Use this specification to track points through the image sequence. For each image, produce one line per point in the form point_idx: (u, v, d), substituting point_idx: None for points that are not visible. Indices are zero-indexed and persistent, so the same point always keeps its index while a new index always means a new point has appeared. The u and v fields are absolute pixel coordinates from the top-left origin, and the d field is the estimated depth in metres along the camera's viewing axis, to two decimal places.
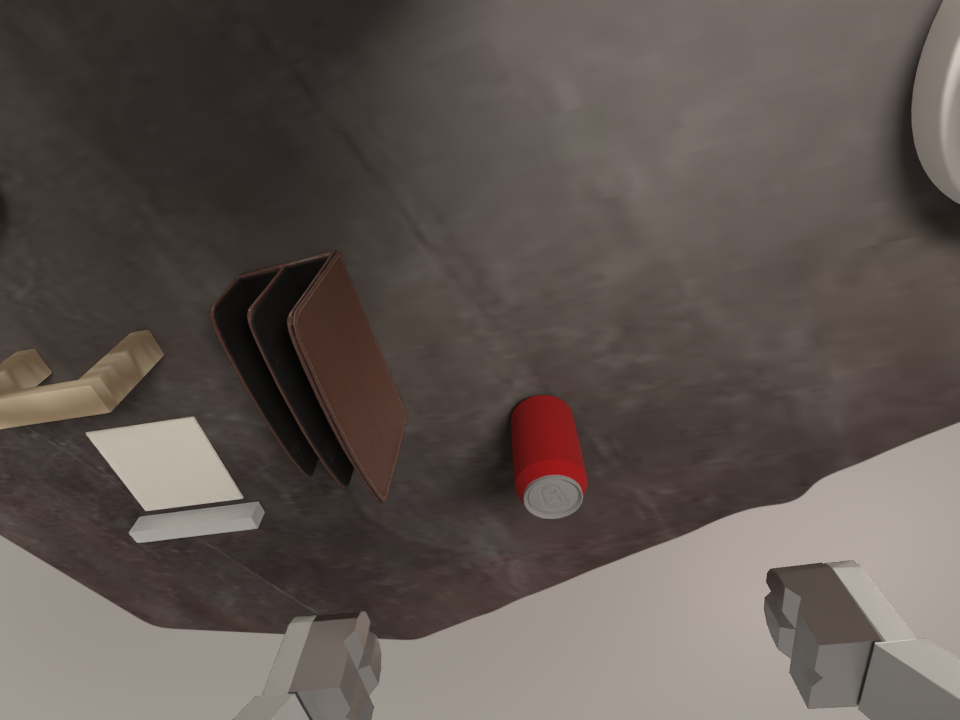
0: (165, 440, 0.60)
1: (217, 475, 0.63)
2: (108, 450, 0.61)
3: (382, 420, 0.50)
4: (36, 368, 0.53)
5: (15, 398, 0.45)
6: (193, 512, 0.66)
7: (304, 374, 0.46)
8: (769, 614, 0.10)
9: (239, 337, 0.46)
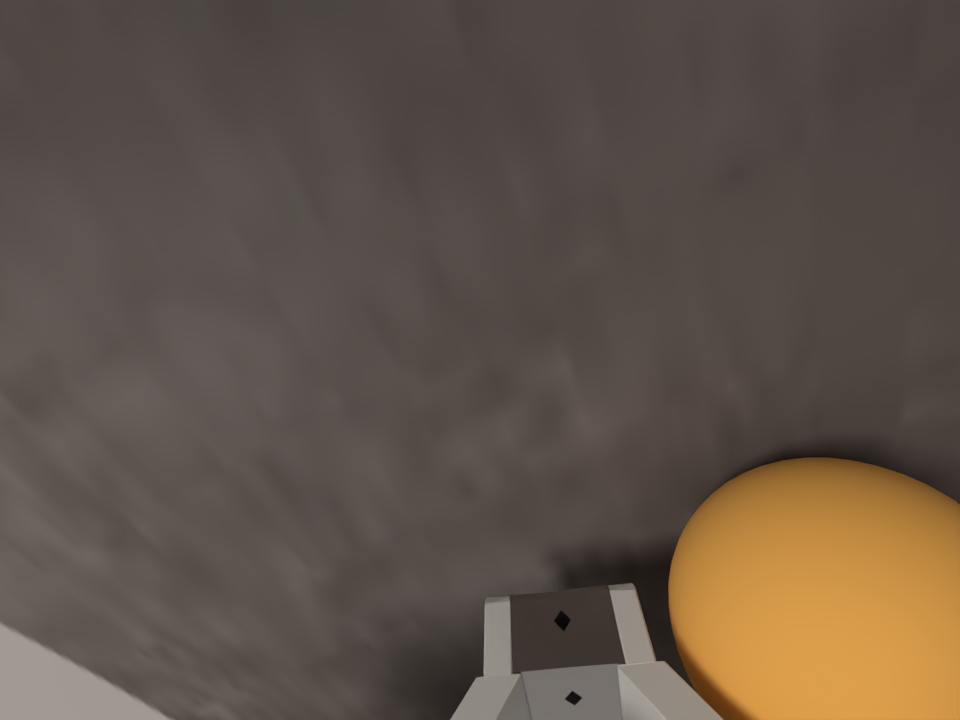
0: None
1: None
2: None
3: None
4: None
5: None
6: None
7: None
8: None
9: None
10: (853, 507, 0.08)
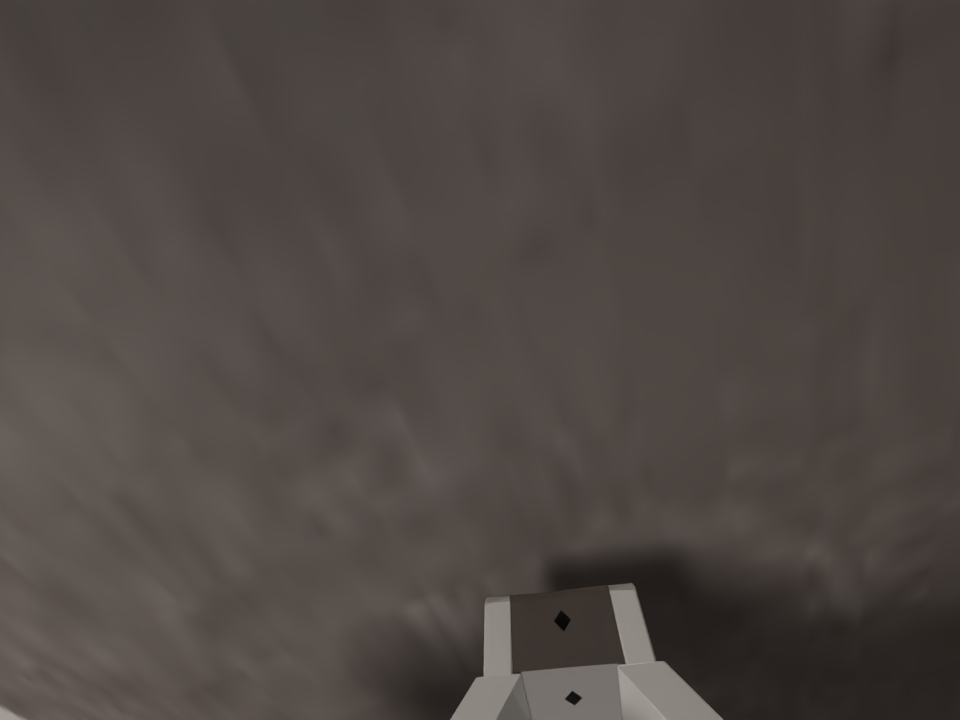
0: None
1: None
2: None
3: None
4: None
5: None
6: None
7: None
8: None
9: None
10: None
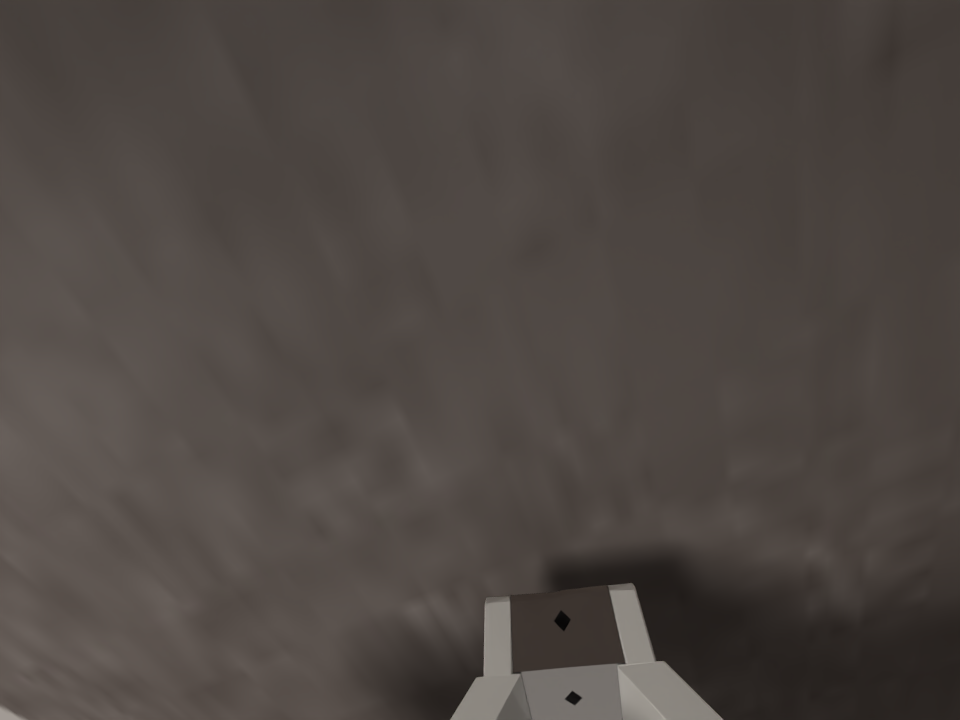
0: None
1: None
2: None
3: None
4: None
5: None
6: None
7: None
8: None
9: None
10: None
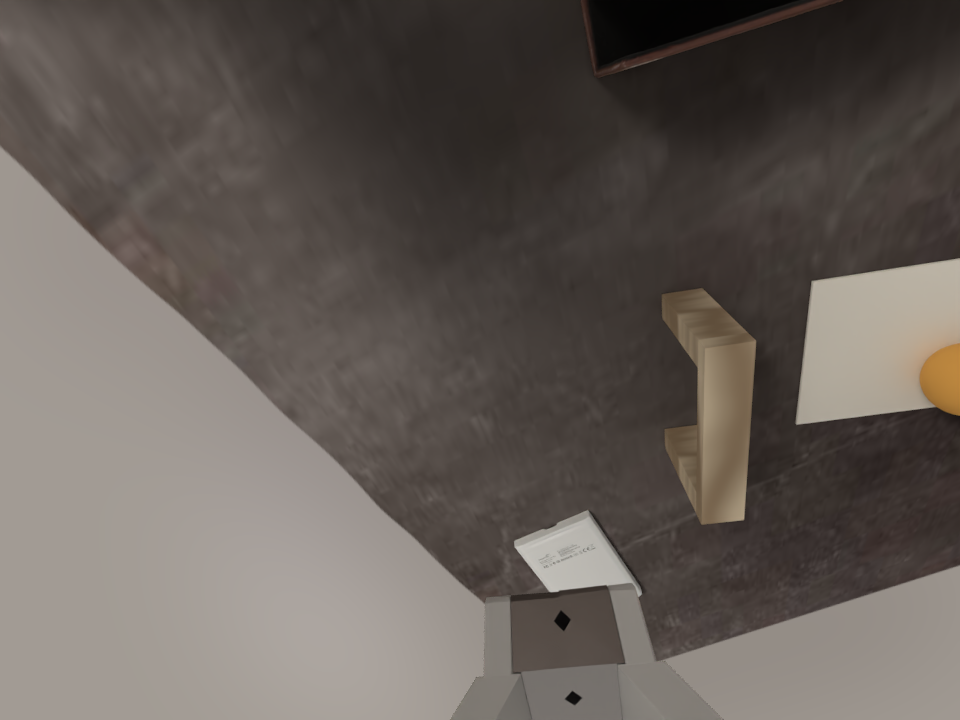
0: (841, 332, 0.41)
1: (934, 279, 0.39)
2: (832, 409, 0.45)
3: None
4: (688, 433, 0.45)
5: (705, 442, 0.35)
6: None
7: None
8: None
9: None
10: None
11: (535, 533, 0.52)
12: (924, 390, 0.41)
